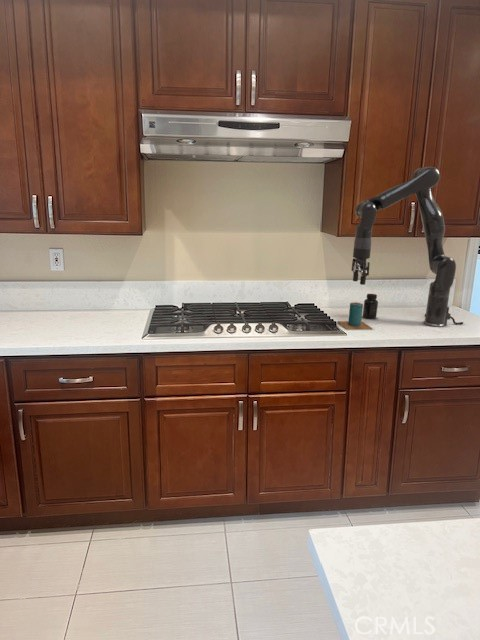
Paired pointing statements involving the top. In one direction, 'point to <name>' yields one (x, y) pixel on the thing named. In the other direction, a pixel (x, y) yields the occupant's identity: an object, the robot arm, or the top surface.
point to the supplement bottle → (370, 306)
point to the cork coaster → (347, 326)
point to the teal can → (355, 314)
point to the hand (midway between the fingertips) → (358, 282)
